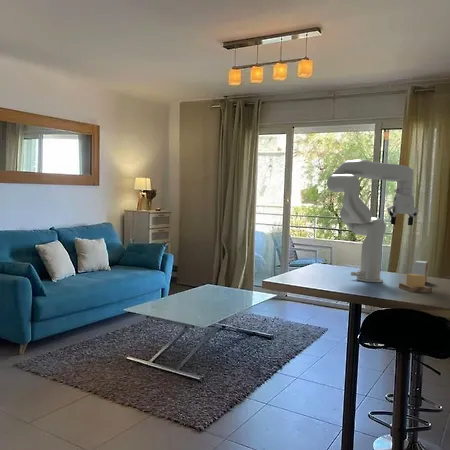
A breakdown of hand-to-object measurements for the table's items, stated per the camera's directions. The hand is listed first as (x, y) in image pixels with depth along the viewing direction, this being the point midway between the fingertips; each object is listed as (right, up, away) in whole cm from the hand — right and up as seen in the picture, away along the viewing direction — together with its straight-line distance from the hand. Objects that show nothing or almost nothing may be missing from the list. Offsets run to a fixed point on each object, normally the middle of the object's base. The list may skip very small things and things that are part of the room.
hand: (401, 224), depth 237 cm
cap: (-5, -28, -30) cm, 41 cm away
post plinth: (-5, -30, -29) cm, 42 cm away
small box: (+7, -29, -6) cm, 31 cm away
